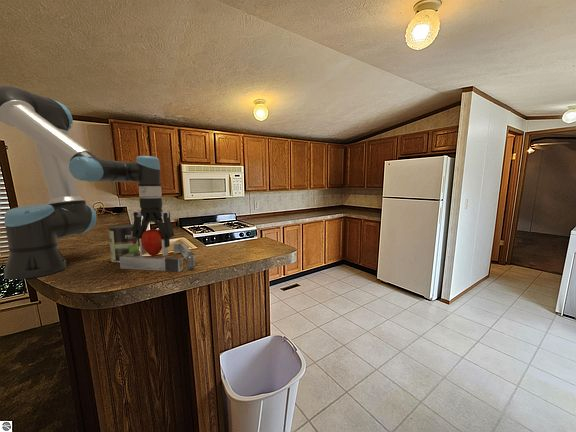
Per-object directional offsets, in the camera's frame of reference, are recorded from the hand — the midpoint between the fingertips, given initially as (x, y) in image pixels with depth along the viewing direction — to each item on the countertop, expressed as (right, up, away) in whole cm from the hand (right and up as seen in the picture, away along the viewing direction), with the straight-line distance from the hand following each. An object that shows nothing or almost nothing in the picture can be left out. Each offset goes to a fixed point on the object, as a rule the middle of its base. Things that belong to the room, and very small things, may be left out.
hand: (154, 254), depth 94 cm
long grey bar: (+4, -4, -4) cm, 7 cm away
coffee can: (-16, -3, +6) cm, 17 cm away
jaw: (+8, -3, +7) cm, 11 cm away
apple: (0, -1, 0) cm, 1 cm away
